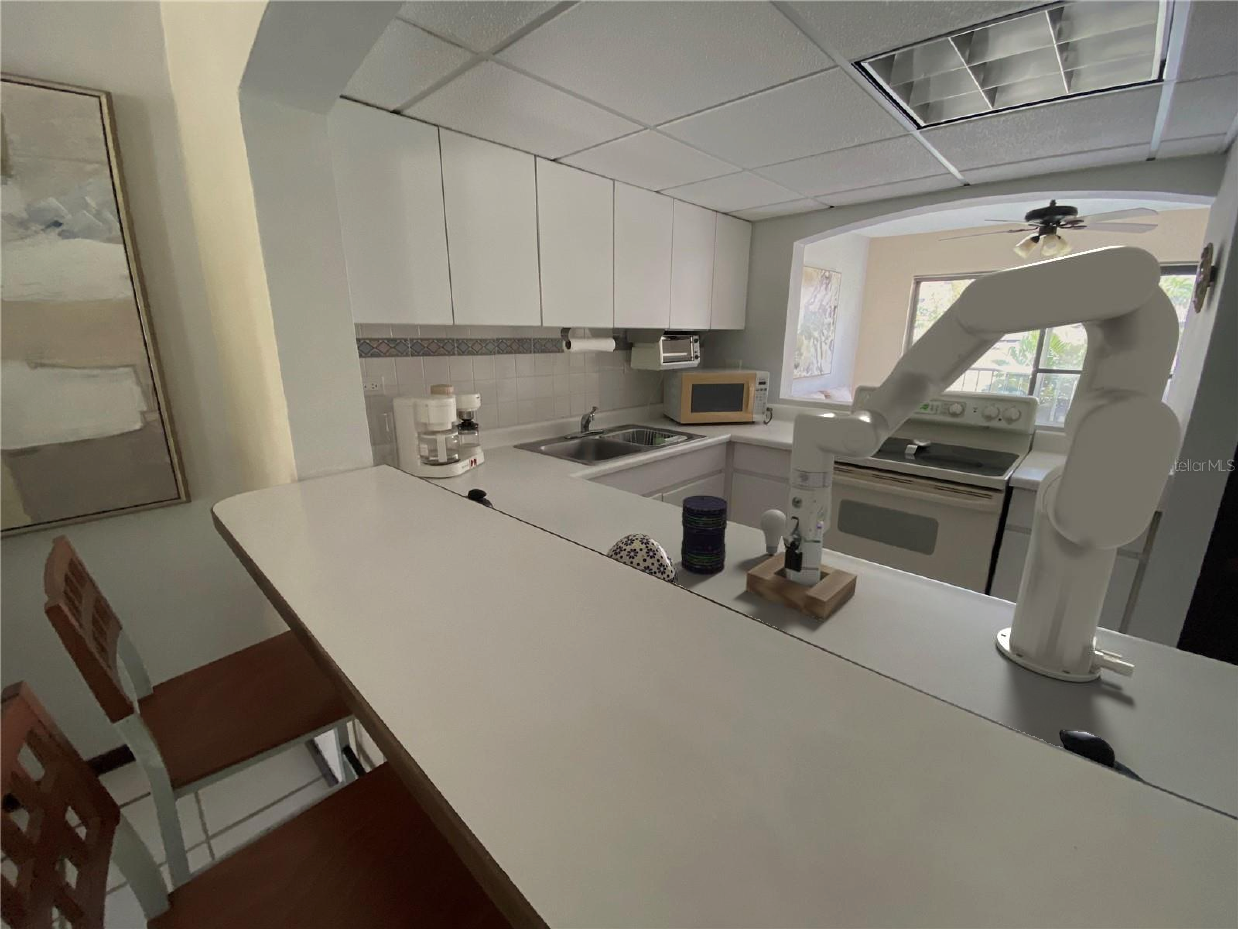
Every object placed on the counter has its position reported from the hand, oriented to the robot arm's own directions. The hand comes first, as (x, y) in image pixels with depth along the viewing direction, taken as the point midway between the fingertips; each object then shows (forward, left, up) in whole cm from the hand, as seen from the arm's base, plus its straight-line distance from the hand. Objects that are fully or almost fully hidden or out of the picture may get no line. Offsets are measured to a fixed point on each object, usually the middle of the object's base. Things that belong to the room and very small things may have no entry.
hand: (803, 562), depth 97 cm
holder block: (0, 0, -6) cm, 6 cm away
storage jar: (+21, +4, -7) cm, 23 cm away
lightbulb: (+13, -12, -7) cm, 19 cm away
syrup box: (0, 0, -5) cm, 5 cm away
